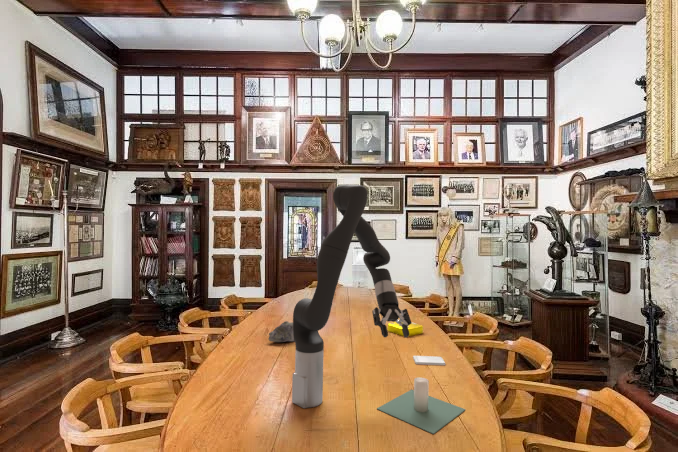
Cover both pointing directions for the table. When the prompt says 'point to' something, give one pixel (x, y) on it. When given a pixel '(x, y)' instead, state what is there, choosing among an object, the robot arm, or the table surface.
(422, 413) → the felt mat
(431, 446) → the table surface
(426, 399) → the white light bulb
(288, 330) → the mineral rock
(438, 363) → the hard drive
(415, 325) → the element tile
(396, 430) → the table surface
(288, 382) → the table surface
